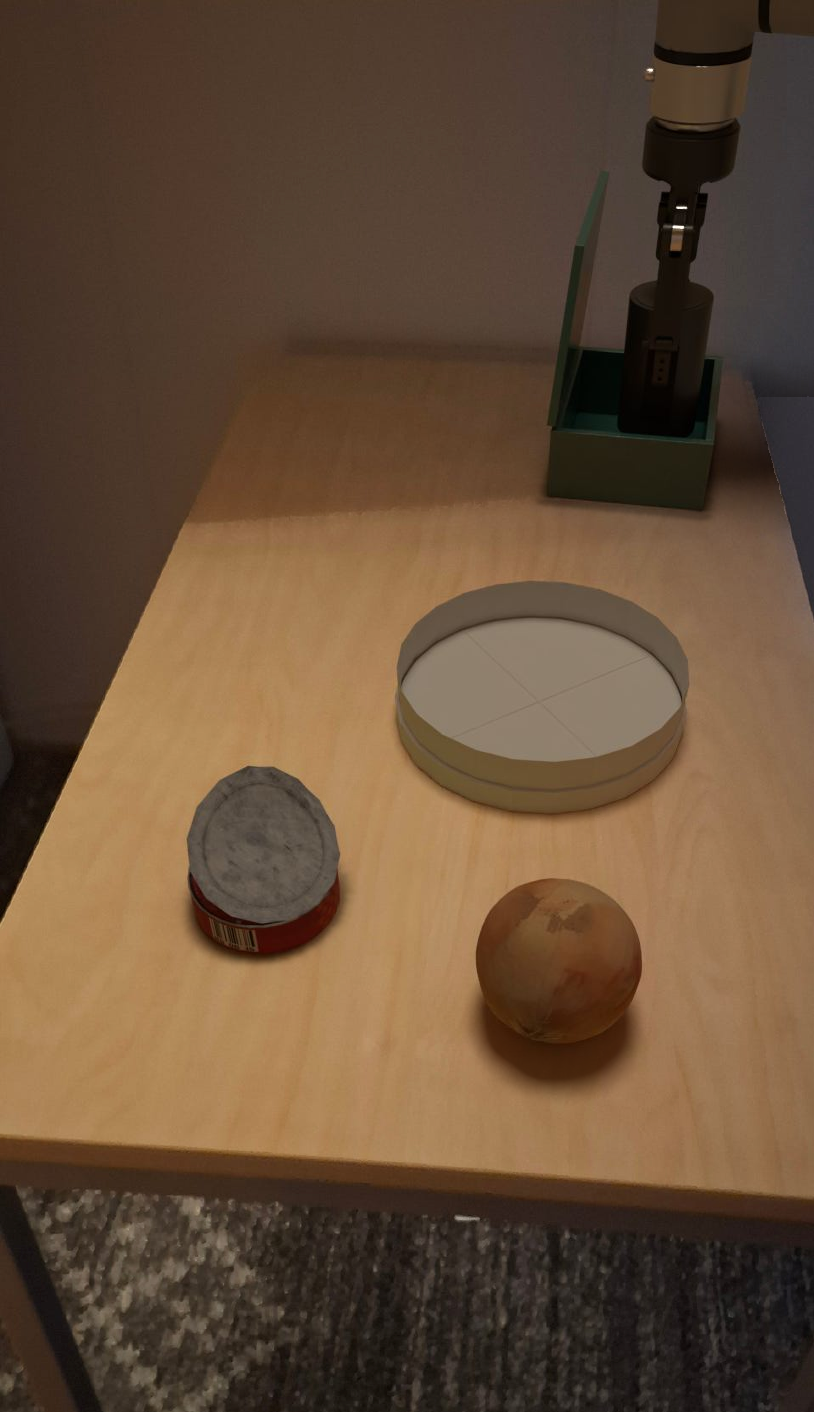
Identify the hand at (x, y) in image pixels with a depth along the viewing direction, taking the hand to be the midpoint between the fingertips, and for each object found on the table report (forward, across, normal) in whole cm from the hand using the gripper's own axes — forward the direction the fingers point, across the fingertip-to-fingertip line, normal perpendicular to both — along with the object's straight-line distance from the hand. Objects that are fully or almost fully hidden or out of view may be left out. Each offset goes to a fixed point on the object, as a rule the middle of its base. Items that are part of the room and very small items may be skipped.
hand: (659, 396), depth 110 cm
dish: (+7, +40, -5) cm, 41 cm away
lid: (-8, 0, -8) cm, 12 cm away
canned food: (+7, +62, -20) cm, 66 cm away
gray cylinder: (+3, 0, 0) cm, 3 cm away
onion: (+7, +68, 0) cm, 68 cm away
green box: (+7, 0, -2) cm, 7 cm away
